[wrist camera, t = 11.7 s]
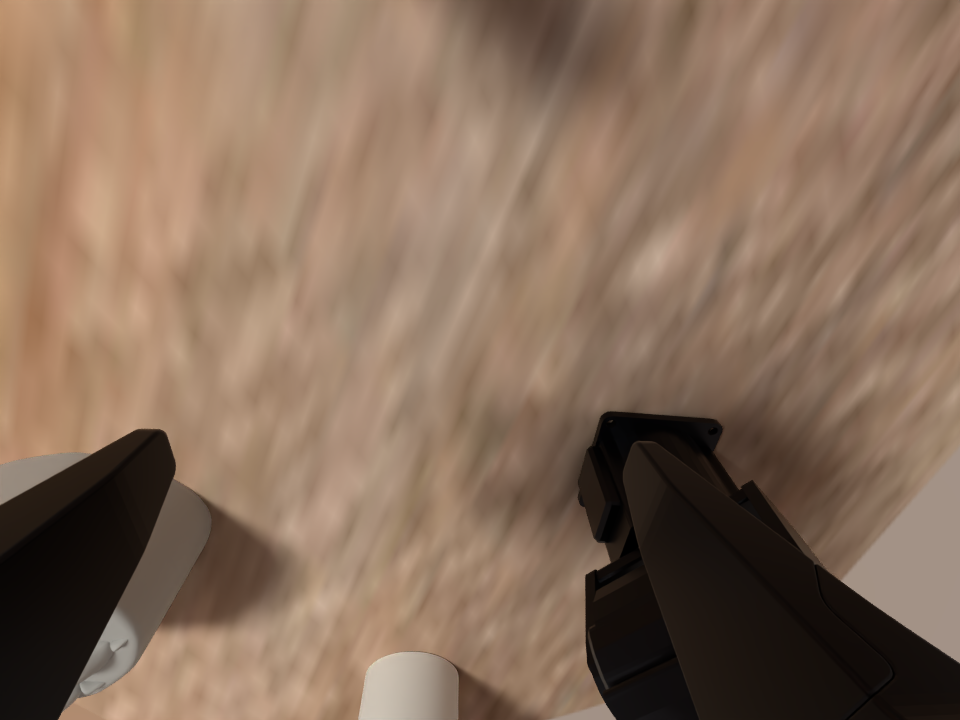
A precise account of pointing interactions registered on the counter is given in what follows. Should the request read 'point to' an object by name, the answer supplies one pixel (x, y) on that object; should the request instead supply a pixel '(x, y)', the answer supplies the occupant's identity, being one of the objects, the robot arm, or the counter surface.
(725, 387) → the counter surface
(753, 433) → the counter surface
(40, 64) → the counter surface
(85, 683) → the lumpy-topped squat cylinder
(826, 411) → the counter surface
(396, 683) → the cylindrical container
